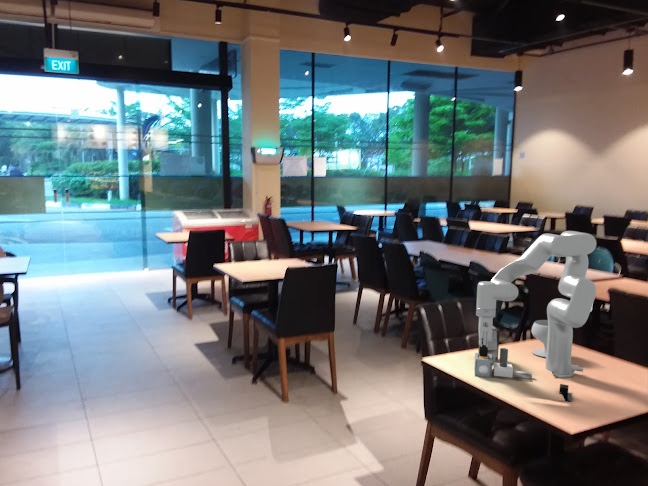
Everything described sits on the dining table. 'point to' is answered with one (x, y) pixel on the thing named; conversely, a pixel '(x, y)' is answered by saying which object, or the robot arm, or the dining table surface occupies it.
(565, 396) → the black slotted bracket
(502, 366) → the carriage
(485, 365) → the grey open box
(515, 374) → the rail board
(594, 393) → the dining table surface
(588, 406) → the dining table surface
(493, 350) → the coffee box
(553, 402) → the dining table surface
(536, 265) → the robot arm
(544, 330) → the chalice
